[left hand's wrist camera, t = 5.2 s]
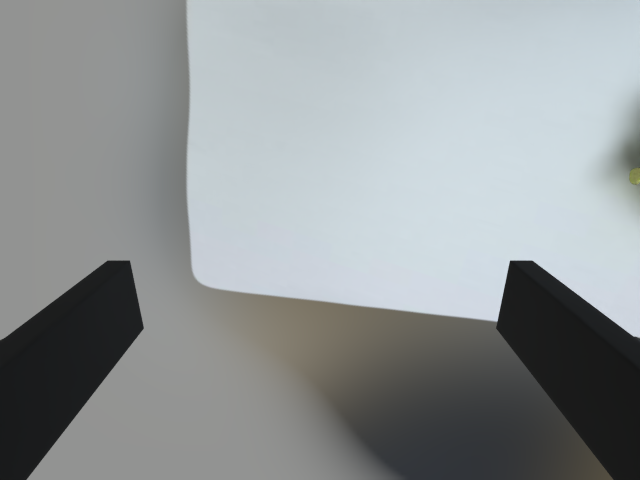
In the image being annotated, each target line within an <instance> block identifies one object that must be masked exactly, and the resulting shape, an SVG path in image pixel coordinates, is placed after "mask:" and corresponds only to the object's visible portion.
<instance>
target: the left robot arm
mask: <svg viewBox="0 0 640 480" xmlns="http://www.w3.org/2000/svg"><path fill="white" fill-rule="evenodd" d="M143 329H144V327H143V322H142V317H141V313H140V308H139V303H138V298H137V293H136V288H135V283H134V278H133V273H132V269H131V264H130V261H107V262H105V263H104V264H103V265H101V266H100V267H99V268H97V269H96V270H95V271H93V272H92V273H91V274H89V275H88V276H87V277H85V278H84V279H83V280H81V281H80V282H79V283H77V284H76V285H75V286H73V287H72V288H71V289H69V290H68V291H67V292H65V293H64V294H63V295H61V296H60V297H59V298H58V299H56V300H55V301H53V302H52V303H51V304H49V305H48V306H47V307H46V308H44V309H43V310H41V311H40V312H39V313H38V314H36V315H35V316H33V317H32V318H31V319H29V320H28V321H27V322H25V323H24V324H23V325H22V326H20V327H19V328H17V329H16V330H15V331H14V332H12V333H11V334H10V335H8V336H7V337H6V338H4V339H2V340H0V480H26V479H27V478H28V477H29V476H30V474H31V473H32V472H33V470H34V469H35V468H36V467H37V465H38V464H39V463H40V461H41V460H42V459H43V458H44V456H45V455H46V454H47V452H48V451H49V450H50V448H51V447H52V446H53V445H54V443H55V442H56V441H57V439H58V438H59V437H60V436H61V434H62V433H63V432H64V431H65V429H66V428H67V427H68V425H69V424H70V423H71V421H72V420H73V419H74V418H75V416H76V415H77V414H78V412H79V411H80V410H81V409H82V407H83V406H84V405H85V403H86V402H87V401H88V400H89V398H90V397H91V396H92V394H93V393H94V392H95V391H96V389H97V388H98V387H99V385H100V384H101V383H102V381H103V380H104V379H105V378H106V376H107V375H108V374H109V372H110V371H111V370H112V369H113V367H114V366H115V365H116V363H117V362H118V361H119V360H120V358H121V357H122V356H123V354H124V353H125V352H126V351H127V349H128V348H129V347H130V345H131V344H132V343H133V341H134V340H135V339H136V338H137V336H138V335H139V334H140V332H141V331H142V330H143ZM496 329H497V330H498V331H499V332H500V334H501V335H502V336H503V338H504V339H505V340H506V341H507V343H508V344H509V345H510V347H511V348H512V349H513V351H514V352H515V353H516V354H517V356H518V357H519V358H520V360H521V361H522V362H523V363H524V365H525V366H526V367H527V369H528V370H529V371H530V372H531V374H532V375H533V376H534V378H535V379H536V380H537V382H538V383H539V384H540V385H541V387H542V388H543V389H544V391H545V392H546V393H547V394H548V396H549V397H550V398H551V400H552V401H553V402H554V403H555V405H556V406H557V407H558V409H559V410H560V411H561V412H562V414H563V415H564V416H565V418H566V419H567V420H568V421H569V423H570V424H571V425H572V427H573V428H574V429H575V431H576V432H577V433H578V434H579V436H580V437H581V438H582V439H583V441H584V442H585V443H586V445H587V446H588V447H589V448H590V450H591V451H592V452H593V454H594V455H595V456H596V458H597V459H598V460H599V461H600V463H601V464H602V465H603V467H604V468H605V469H606V470H607V472H608V473H609V474H610V476H611V477H612V478H613V479H614V480H640V339H639V338H637V337H633V336H632V335H630V334H629V333H628V332H626V331H625V330H624V329H622V328H621V327H620V326H619V325H617V324H616V323H615V322H613V321H612V320H611V319H609V318H608V317H607V316H605V315H604V314H603V313H601V312H600V311H599V310H597V309H596V308H595V307H593V306H592V305H591V304H589V303H588V302H587V301H585V300H584V299H583V298H581V297H580V296H579V295H577V294H576V293H575V292H573V291H572V290H571V289H569V288H568V287H567V286H565V285H564V284H563V283H561V282H560V281H559V280H557V279H556V278H555V277H553V276H552V275H551V274H549V273H548V272H547V271H545V270H544V269H543V268H541V267H540V266H539V265H537V264H536V263H535V262H533V261H510V264H509V269H508V273H507V278H506V283H505V288H504V293H503V298H502V303H501V308H500V312H499V317H498V322H497V327H496Z"/></svg>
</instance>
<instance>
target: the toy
mask: <svg viewBox="0 0 640 480" xmlns="http://www.w3.org/2000/svg"><path fill="white" fill-rule="evenodd" d="M629 179H630V182H631V183H632V184H635V185H636V184H638V183H639V182H640V168H635V169H632V170H631V172H630V178H629Z"/></svg>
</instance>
